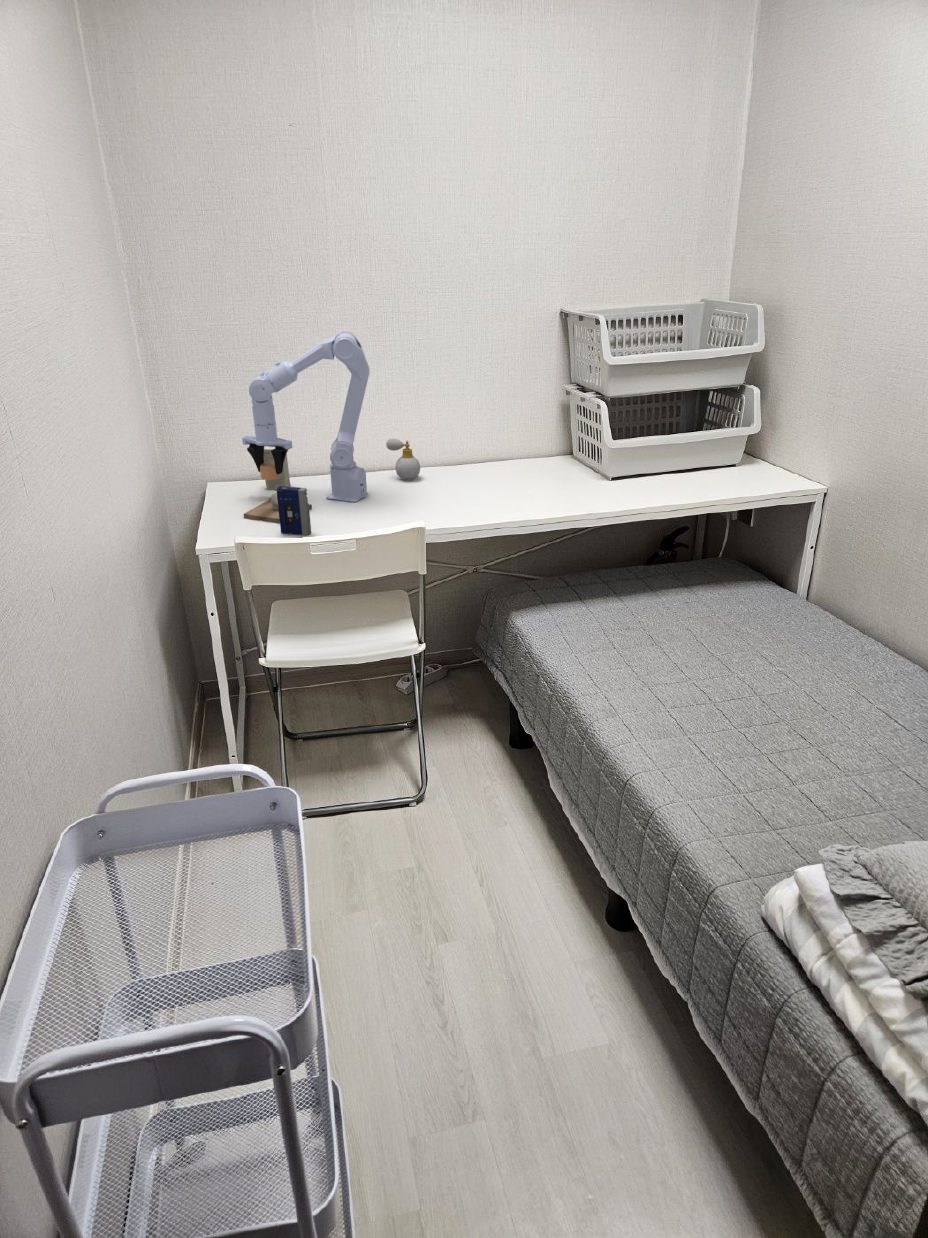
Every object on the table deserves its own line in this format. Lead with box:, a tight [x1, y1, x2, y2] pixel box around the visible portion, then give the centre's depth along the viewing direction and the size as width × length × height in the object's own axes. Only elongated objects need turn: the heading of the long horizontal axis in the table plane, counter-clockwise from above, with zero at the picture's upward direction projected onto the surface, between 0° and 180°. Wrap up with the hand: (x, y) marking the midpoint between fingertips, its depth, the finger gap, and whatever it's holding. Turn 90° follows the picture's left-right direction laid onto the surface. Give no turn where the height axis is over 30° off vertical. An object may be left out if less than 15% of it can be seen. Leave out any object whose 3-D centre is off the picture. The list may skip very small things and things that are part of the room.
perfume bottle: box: [385, 438, 421, 481], centre depth 247 cm, size 8×10×12 cm
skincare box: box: [264, 446, 291, 491], centre depth 239 cm, size 6×4×12 cm
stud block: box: [243, 492, 313, 524], centre depth 221 cm, size 13×13×5 cm
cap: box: [259, 462, 281, 481], centre depth 229 cm, size 5×5×4 cm
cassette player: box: [275, 486, 312, 536], centre depth 206 cm, size 7×2×12 cm, turn 78°
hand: (270, 472), depth 229 cm, fingers closed on cap, 5 cm apart
